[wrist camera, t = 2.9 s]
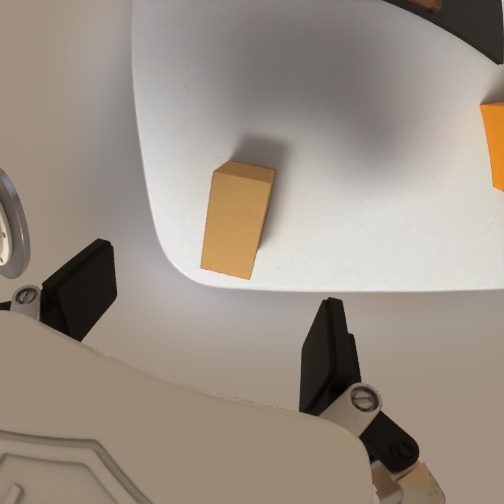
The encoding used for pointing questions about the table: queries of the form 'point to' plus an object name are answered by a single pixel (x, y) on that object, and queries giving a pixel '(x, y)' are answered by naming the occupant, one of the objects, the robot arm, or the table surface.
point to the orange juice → (495, 139)
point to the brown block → (235, 218)
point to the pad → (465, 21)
